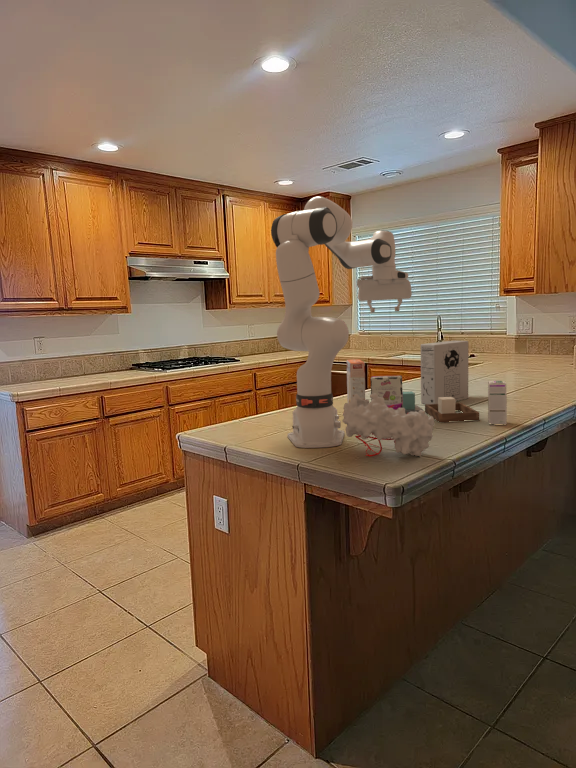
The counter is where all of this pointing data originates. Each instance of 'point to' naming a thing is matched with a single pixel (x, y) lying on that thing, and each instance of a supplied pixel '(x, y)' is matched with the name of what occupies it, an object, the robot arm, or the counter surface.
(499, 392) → the syrup box
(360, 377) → the cracker box
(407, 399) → the teal block
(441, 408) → the cream block
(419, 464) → the counter surface
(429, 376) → the cereal box
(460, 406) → the crate
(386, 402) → the candy bar box
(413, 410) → the trivet
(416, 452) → the lumpy white molecule
